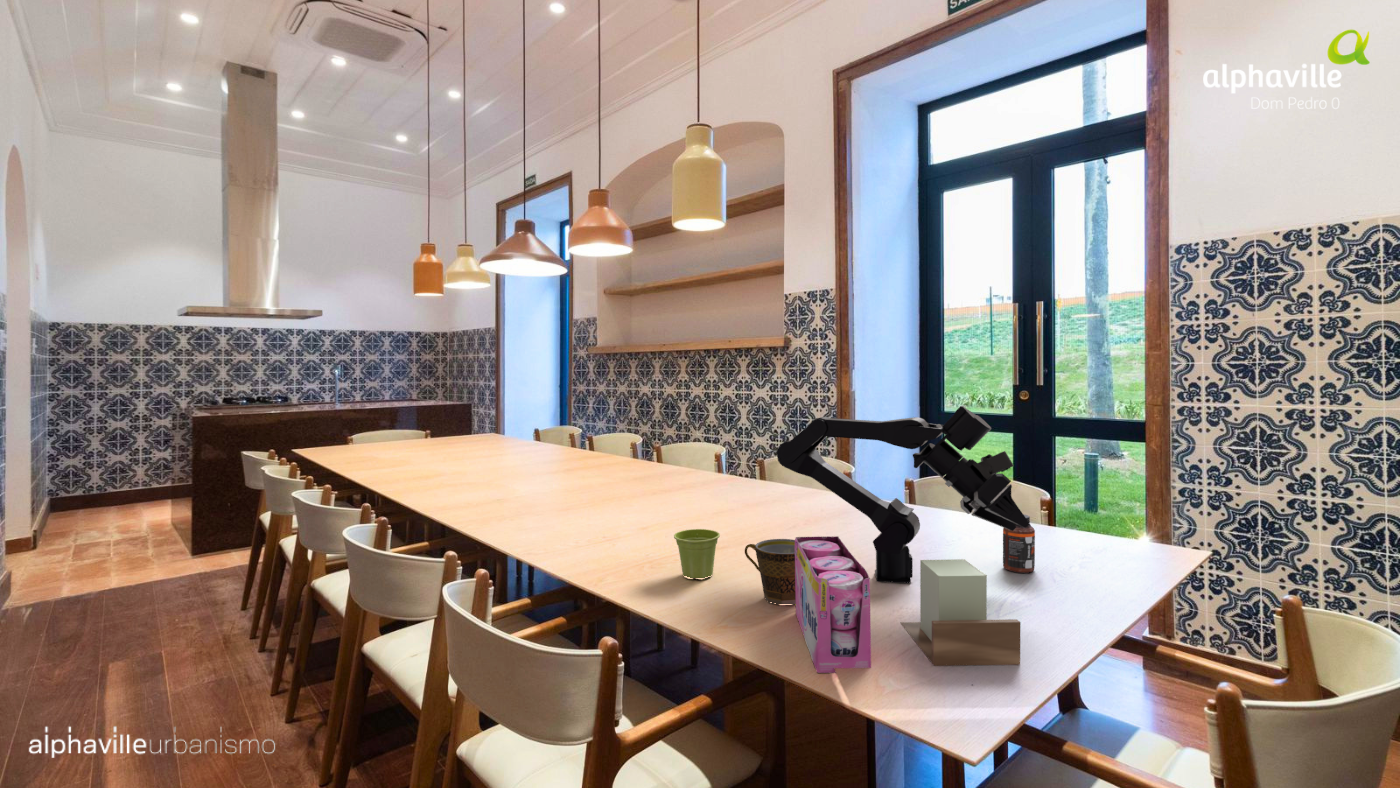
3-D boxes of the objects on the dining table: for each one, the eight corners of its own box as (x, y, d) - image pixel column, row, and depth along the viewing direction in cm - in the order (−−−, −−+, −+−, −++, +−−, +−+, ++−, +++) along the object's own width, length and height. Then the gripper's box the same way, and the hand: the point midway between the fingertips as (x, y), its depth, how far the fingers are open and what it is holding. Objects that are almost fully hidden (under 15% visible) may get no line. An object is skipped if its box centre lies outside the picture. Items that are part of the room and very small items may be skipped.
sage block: (920, 628, 104) (920, 559, 103) (964, 627, 104) (964, 559, 103) (938, 649, 96) (938, 576, 95) (986, 649, 96) (986, 575, 95)
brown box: (900, 627, 106) (900, 586, 106) (973, 626, 106) (973, 585, 106) (934, 671, 91) (934, 623, 90) (1020, 670, 91) (1020, 622, 90)
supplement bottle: (1038, 574, 131) (1039, 519, 131) (1007, 573, 132) (1007, 518, 132) (1029, 565, 137) (1030, 512, 137) (999, 564, 138) (999, 511, 138)
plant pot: (692, 587, 127) (691, 543, 127) (665, 575, 135) (665, 533, 134) (729, 577, 133) (729, 535, 132) (702, 566, 140) (701, 526, 140)
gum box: (875, 678, 89) (875, 581, 88) (817, 679, 89) (817, 581, 88) (839, 612, 113) (839, 535, 112) (794, 613, 113) (793, 536, 112)
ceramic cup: (819, 596, 121) (819, 543, 120) (795, 613, 112) (795, 556, 112) (758, 584, 128) (757, 534, 128) (731, 599, 120) (731, 546, 119)
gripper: (993, 427, 115) (1068, 490, 110) (973, 446, 133) (1037, 501, 128) (949, 472, 115) (1022, 537, 110) (935, 485, 133) (997, 541, 128)
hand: (1020, 527), depth 119 cm, fingers open, 9 cm apart
